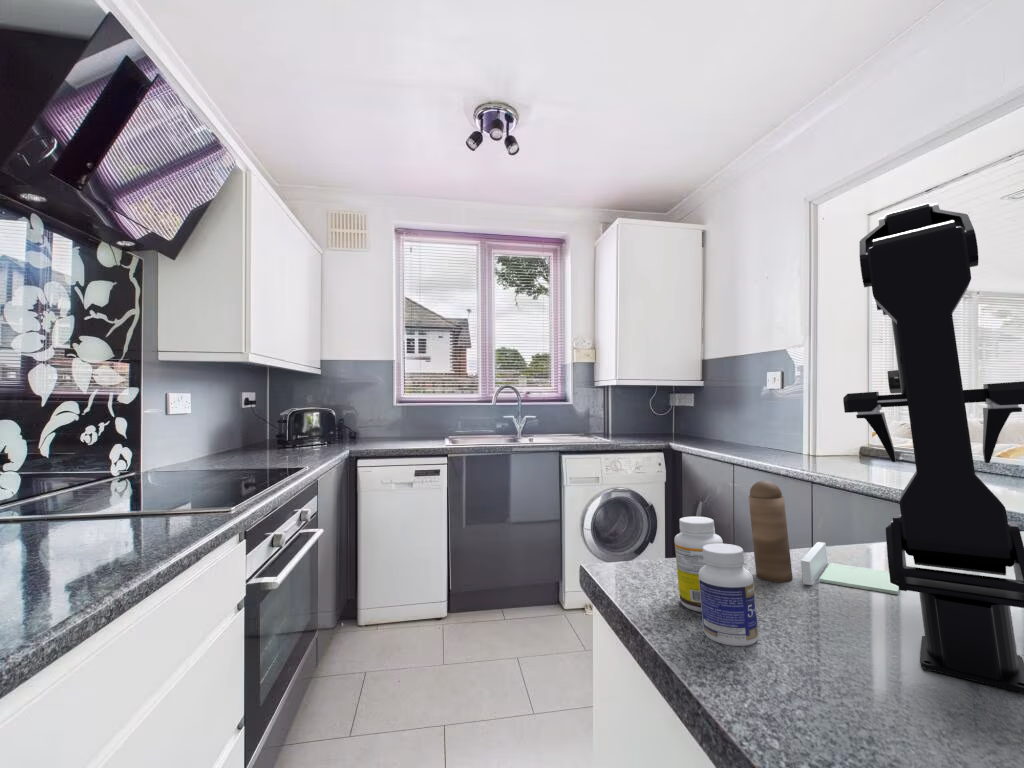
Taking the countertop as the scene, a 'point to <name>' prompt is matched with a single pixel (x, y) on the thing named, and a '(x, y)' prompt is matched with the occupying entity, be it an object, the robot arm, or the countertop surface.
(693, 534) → the supplement bottle
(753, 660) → the countertop surface
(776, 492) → the pepper mill
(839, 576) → the coaster
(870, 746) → the countertop surface
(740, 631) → the pill bottle
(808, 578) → the rail
